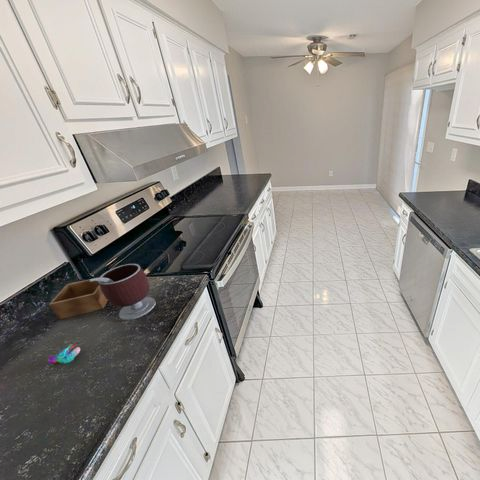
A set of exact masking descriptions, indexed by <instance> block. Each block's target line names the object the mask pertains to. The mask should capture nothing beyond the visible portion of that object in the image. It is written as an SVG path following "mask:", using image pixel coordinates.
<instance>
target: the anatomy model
mask: <svg viewBox="0 0 480 480" xmlns="http://www.w3.org/2000/svg"><path fill="white" fill-rule="evenodd" d="M75 346H76V347H75ZM74 347H75V348H74ZM72 348H73V349H72ZM71 349H72V351H71ZM80 352H81V347H80V346H77V344H76V343H75V344H74V343H72V344H69V345H68V347H66V348H64V349H62V351H61V350H59V351H58V354H56V355H55V356H54V355H51V356H50V357H49V358H48V360H47V362H48V363H51V364H57V363H59V364H67V363H69V362H71V361H74V360H75V358H76V356H78V355H79V353H80Z"/></svg>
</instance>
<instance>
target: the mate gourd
mask: <svg viewBox="0 0 480 480" xmlns="http://www.w3.org/2000/svg"><path fill="white" fill-rule="evenodd" d="M88 280H89V279H88ZM89 281H90V282H92V281H98V282H99V285H100V288H101V291H102V293H103V294H104V296H105V298H106V299H107V300H108V302H109V303H110V304H111V305H113V306H117V307H121V309H120V310H119V313H118V316H119V318H120V319H121V320H123V321H132V320H137V319H139V318H141V317H143V316H145V315H147V314H148V313H150V312H151V311H153V309H154V308H155V306H156V304H157V303H156V302H157V301H156V300H155V298H153V297H150V296H147V295H148V293H149V290H150V284H149V279H148V277H147V275H146V273H145V271H144V269H143V268H142V267H141V266H140V265H139V263H126V264H122V265H119V266H116V267H113V268H111V269H109V270H108V271H105V272H104V273H102V274H101V275H100V276H99V277H95V278H90V280H89Z"/></svg>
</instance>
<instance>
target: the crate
mask: <svg viewBox="0 0 480 480" xmlns="http://www.w3.org/2000/svg"><path fill="white" fill-rule="evenodd" d="M90 279H91V278H90ZM90 279H84V280H80V281H76V282H70V283H67V284H65V285H64V287H63V288H62V289H61V290H60V291H59V292H58V294H57V295H56V296H55V297H54V298H53V299H52V300H51V301H50V302H49V304H48V306H49V307H50V309H51V310H52V311H53V313H54V315H55V316H56V317H57V319H58V320H63V319H68V318H71V317H75V316H80V315H84V314H87V313H92V312H96V311H99V310H104V309H105V307H106V305H107V303H108V302H109V301H108V300H107V299H106V298H105V296H104V294H103V293H102V291H101V288H100V285H99V282H98V281H92V282H90V281H89V280H90ZM107 301H108V302H107Z"/></svg>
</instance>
